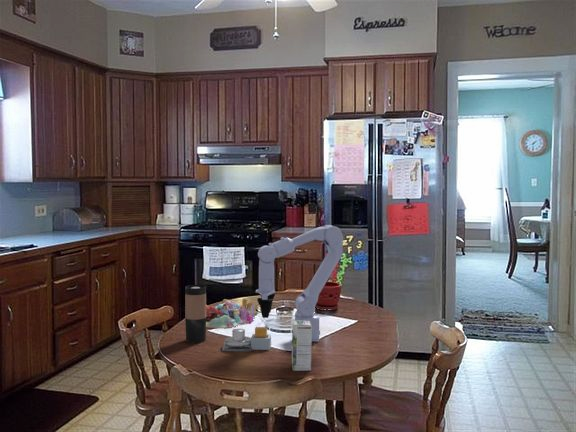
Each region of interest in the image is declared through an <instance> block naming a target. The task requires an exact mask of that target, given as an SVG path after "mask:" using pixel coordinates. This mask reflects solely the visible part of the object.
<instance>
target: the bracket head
mask: <svg viewBox="0 0 576 432" xmlns="http://www.w3.org/2000/svg"><path fill="white" fill-rule="evenodd" d="M250 338H251V347H252V350H256V351H257V350H258V351H259V350H264V351H266V350H267V351H270V349H271V347H272V334H268V333H267V338H255V333H252V335H251V336H250Z"/></svg>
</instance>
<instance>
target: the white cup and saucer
mask: <svg viewBox="0 0 576 432" xmlns="http://www.w3.org/2000/svg"><path fill="white" fill-rule="evenodd" d="M231 333H232V334H231V336H229V337H226V338H225V339H224V343H223V344H224V345H223V347H222V348H221V351H222V352H244V353H245V352H246V353H248V352H252V351H253V349H252V347H251V336H250V337H249V336H246V335H245V334H246V330H245V329H244V328H232V332H231Z"/></svg>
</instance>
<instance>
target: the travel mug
mask: <svg viewBox="0 0 576 432" xmlns="http://www.w3.org/2000/svg"><path fill="white" fill-rule="evenodd" d="M184 289H185V291H184V293H185V294H184V295H185V296H184V297H185V298H184V300H185V301H184V303H185V304H184V305H185V306H184V311H185V312H184V313H185V315H184V316H185V317H184V319H185V323H184V324H185V341H186V343H190V344H198V343H200V344H201V343H203V342H205V341H206V340H207V337H206V336H207V327H206V305H207V286H206V285H204V284H190V285H186V286H185V288H184Z"/></svg>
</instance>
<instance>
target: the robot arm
mask: <svg viewBox="0 0 576 432" xmlns="http://www.w3.org/2000/svg"><path fill="white" fill-rule="evenodd" d="M344 238H345V237H344V236H343V232H342V230H341V229H340V228H339V227H338V226H334V225H331V224H325V225H323V226H319V227H315V228H313V229H311V230H308V231H306V232H304V233H302V234H300V235H298V236H296V237H293V238H291V237H284V236H282V237H280V239H279V240H277V241H274V242H269V243H268V245H262V246H261V247H260V248H259V249H258V250H257V251H258V252H257V257H258V259H259V260H258V289H256V290H255V293H257V294H260V295H259V296H260V297H257V298H256V299H257V300H256V301H257V302H258V304H259V307H260V313H261V318H263V319H269V317H270V313H271V311H272V306H273V301H274V298H275V296H276V293H275V292H276V289H275V259H278V258H281V257H283V256H286V255H288V254H291V253H293V252H294V250H295V248H296V247H298V246H299V247H300V246H302V245H304V244H307V243H310V242H312V241H315V240H316V241H322V242H324V243H325V245H326V249H327V253H326V255H325V256H324V258H323V260H322V262H320V265H319V267H318V269H317V270H316V272H315V274H314V275H313V276H312V279H311V281H310V282H309V283H308V285H307V287H306V288H305V289H304V290H303V291H302V292H301V294H299V295H298V296H297V297H296V298H295V300H294V307H295V308H296V312H295V313H294V321H296V320H305V321H310V323H311V325H312V342H320V336H321V330H320V315H316V314H315V311H316V308H315V305H316V303H317V301H318V296H319V294H320V292H321V290H322V288H323V287H324V285H325V283H326V282H327V281H329V280H328V279H329V278H330V276H331V275H332V273H333V272H334V270H335V268H336V266H337V264H339V262H340V260H341V258H342V256H343V253H344V249H343V247H344Z"/></svg>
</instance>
